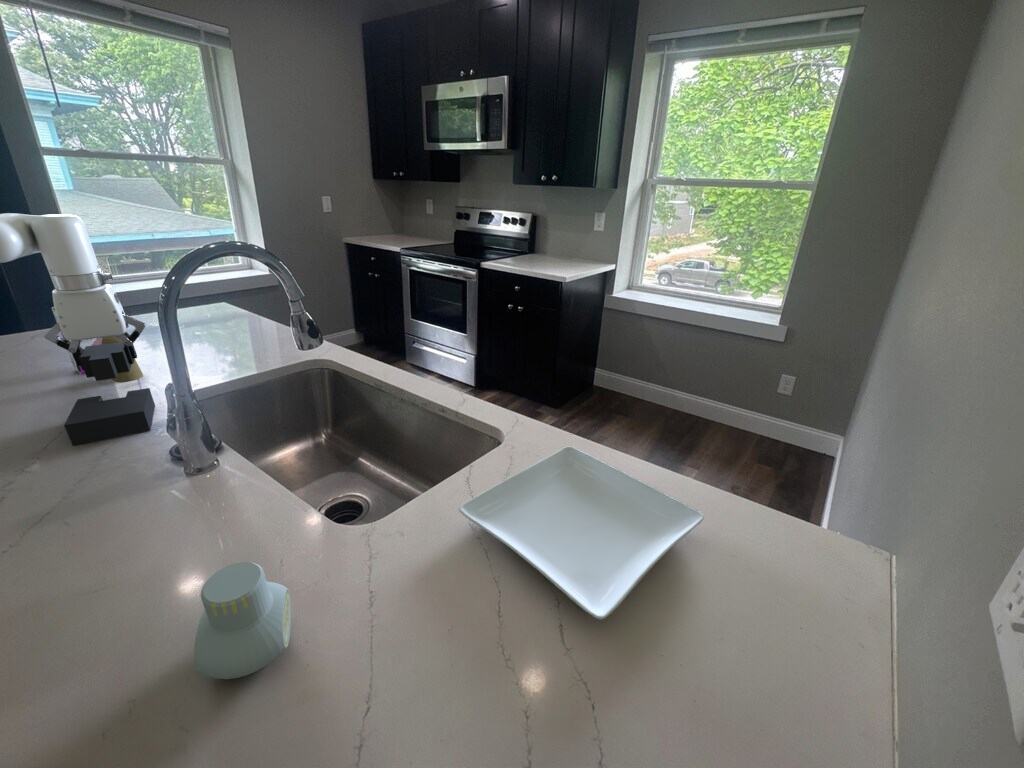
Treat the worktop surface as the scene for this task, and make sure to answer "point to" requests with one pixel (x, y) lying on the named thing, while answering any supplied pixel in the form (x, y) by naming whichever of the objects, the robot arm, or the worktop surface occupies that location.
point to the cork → (135, 369)
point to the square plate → (583, 525)
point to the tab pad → (104, 361)
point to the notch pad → (110, 417)
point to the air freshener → (241, 622)
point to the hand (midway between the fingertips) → (109, 364)
